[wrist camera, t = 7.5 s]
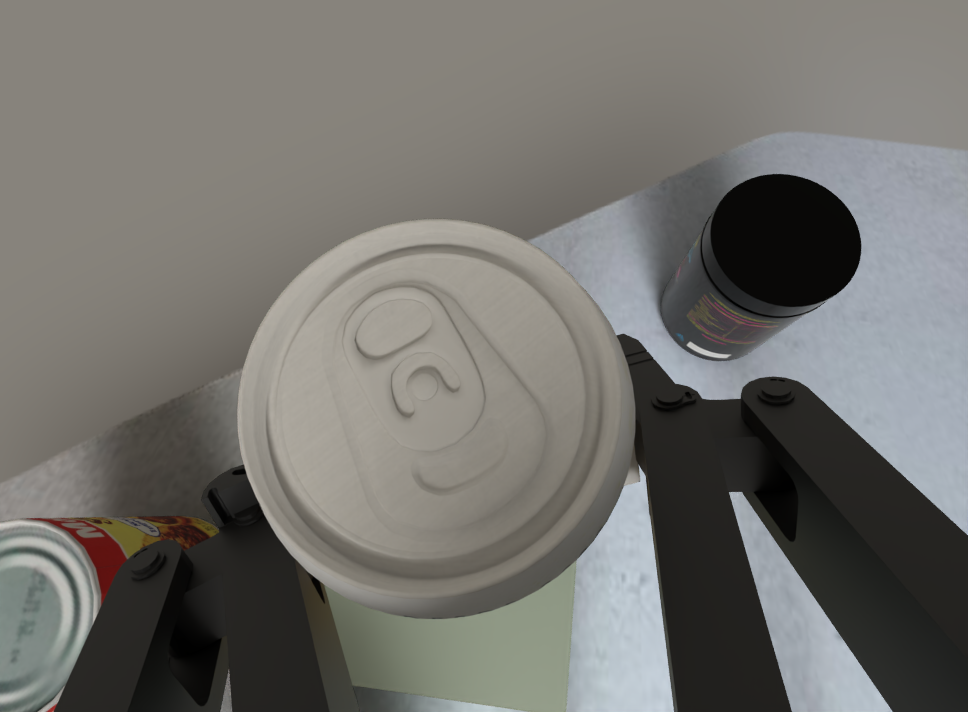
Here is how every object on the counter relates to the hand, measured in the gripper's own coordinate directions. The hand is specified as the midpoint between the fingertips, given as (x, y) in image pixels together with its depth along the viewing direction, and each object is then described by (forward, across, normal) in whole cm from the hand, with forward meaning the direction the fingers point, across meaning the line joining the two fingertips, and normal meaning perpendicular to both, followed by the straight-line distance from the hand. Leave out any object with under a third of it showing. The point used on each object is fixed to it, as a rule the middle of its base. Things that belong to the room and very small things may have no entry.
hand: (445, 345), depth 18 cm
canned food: (+10, -20, -16) cm, 27 cm away
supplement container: (+15, +16, -10) cm, 24 cm away
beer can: (+1, 0, -7) cm, 7 cm away
